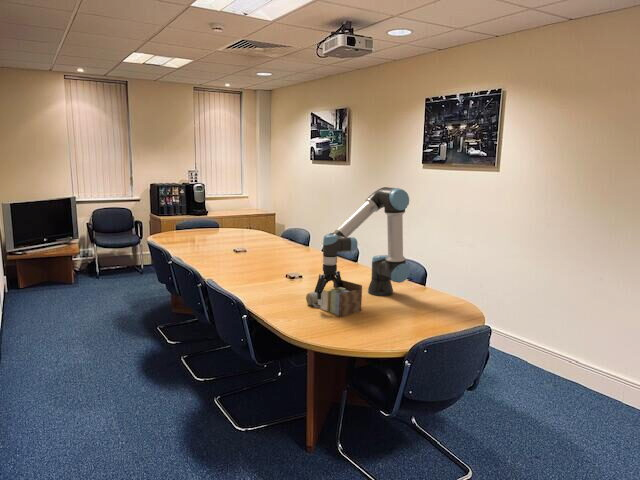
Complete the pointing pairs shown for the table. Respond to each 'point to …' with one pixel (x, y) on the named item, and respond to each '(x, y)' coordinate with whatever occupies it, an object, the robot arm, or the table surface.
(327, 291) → the ochre book
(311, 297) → the ceramic mug
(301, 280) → the table surface
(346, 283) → the brown wooden box
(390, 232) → the robot arm
